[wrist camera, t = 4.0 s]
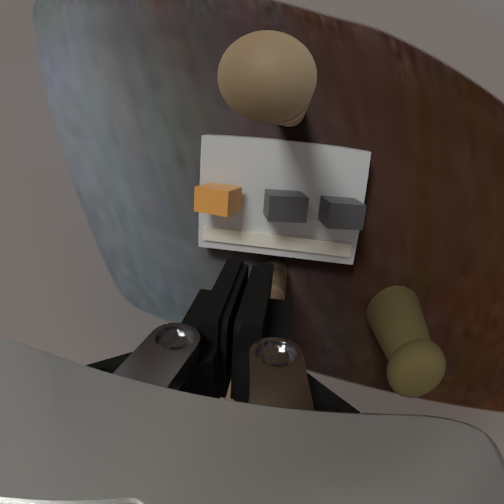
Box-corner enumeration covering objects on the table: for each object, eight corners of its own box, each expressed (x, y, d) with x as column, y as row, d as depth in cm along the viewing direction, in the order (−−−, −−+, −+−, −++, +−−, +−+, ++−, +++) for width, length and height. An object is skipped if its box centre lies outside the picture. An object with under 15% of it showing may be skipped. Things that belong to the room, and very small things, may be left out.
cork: (394, 342, 33) (418, 415, 23) (354, 319, 32) (370, 394, 22) (429, 302, 30) (468, 369, 20) (390, 275, 30) (423, 342, 20)
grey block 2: (354, 198, 26) (366, 205, 24) (350, 221, 27) (362, 230, 24) (320, 195, 25) (331, 202, 23) (317, 219, 26) (327, 228, 24)
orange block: (242, 186, 26) (228, 191, 24) (240, 210, 27) (227, 217, 25) (209, 182, 27) (194, 186, 25) (209, 205, 28) (194, 211, 26)
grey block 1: (300, 191, 26) (309, 197, 24) (298, 214, 27) (306, 223, 25) (264, 188, 26) (270, 195, 24) (262, 212, 27) (267, 221, 24)
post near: (305, 99, 25) (319, 34, 7) (303, 128, 26) (313, 126, 8) (275, 96, 25) (221, 29, 7) (273, 125, 26) (214, 119, 8)
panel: (366, 150, 26) (371, 152, 24) (349, 256, 30) (353, 266, 28) (208, 134, 28) (200, 135, 25) (204, 239, 31) (197, 247, 29)
